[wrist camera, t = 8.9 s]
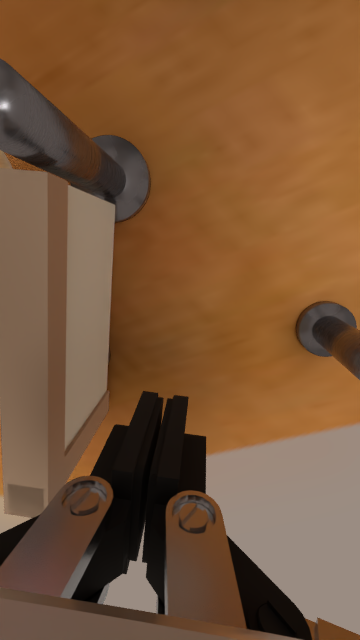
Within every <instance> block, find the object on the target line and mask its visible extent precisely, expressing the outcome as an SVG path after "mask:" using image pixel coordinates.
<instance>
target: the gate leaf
mask: <svg viewBox="0 0 360 640" xmlns="http://www.w3.org/2000/svg"><path fill="white" fill-rule="evenodd" d="M114 222H115V205H114V204H112V203H109V202H107V201H105V200H102V199H100V198H98V197H95V196H93V195H91V194H88V193H86V192H84V191H81V190H79V189H77V188H74V187H72V186H70V185H68V181H66V180H64V179H62V178H59V177H57V176H55V175H53V174H51V173H48V172H41V171H29V170H18V169H7V168H0V417H1V441H2V465H3V489H4V513H5V514H11V515H17V516H24V517H31V518H34V517H36V516H38V515H40V514H41V513H42V512H43V511H44V509H45V508H46V507H47V506H48V504H49V503H50V502H51V500H52V499H53V498H54V497H55V495H56V494H57V493H58V491H59V490H60V489H61V488H62V487H63V486H64V485H65V483H66V482H67V480H68V478H69V476H70V475H71V473H72V471H73V470H74V468H75V466H76V465H77V463H78V461H79V460H80V458H81V456H82V455H83V453H84V451H85V450H86V448H87V446H88V445H89V443H90V441H91V440H92V438H93V436H94V434H95V433H96V431H97V429H98V428H99V426H100V424H101V423H102V421H103V419H104V418H105V416H106V414H107V413H108V411H109V391H107V374H108V352H109V330H110V309H111V287H112V265H113V244H114Z"/></svg>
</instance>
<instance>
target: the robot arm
mask: <svg viewBox="0 0 360 640" xmlns="http://www.w3.org/2000/svg"><path fill="white" fill-rule="evenodd" d="M187 406H188V397H185V396H177V395H174V397H173V399H169V398H168V399H167V403H166V407H165V411H164V416H163V420H162V409H163V398H162V397H158V393H154V392H146V391H143V393H142V395H141V398H140V400H139V403H138V405H137V408H136V410H135V413H134V415H133V418H132V420H131V423H130V425H129V426H125V425H117V424H116V425H114V427H113V429H112V431H111V433H110V435H109V437H108V439H107V441H106V444H105V446H104V448H103V450H102V452H101V454H100V456H99V458H98V460H97V462H96V464H95V466H94V469H93V471H92V473H91V475H90V476H82V477H79V478H76V479H73V480H71V481H70V482H68V483H66V484H65V485H64V486H63V487H62V488H61V489H60V490H59V491H58V493H57V494H56V495H55V497H54V498H53V499H52V500H51V502H50V503H49V504H48V506H47V507H46V508H45V509H44V511H43V512H42V513H41V514H40V515H38V516H36V517H34V518H32V519H30V520H28V521H26V522H24V523H22V524H20V525H17V526H15V527H13V528H12V529H9V530H7V531H5V532H3V533H1V534H0V640H360V635H358V634H356V633H353V632H351V631H348V630H346V629H344V628H341V627H339V626H336V625H334V624H332V623H329V622H327V621H324V620H322V619H320V618H317V621H316V623H315V622H312V621H310V620H308V619H305V618H304V616H303V614H302V613H301V612H300V610H299V609H298V608H297V607H296V605H295V604H294V603H293V602H292V601H291V600H290V599H289V598H288V597H287V596H286V595H285V594H284V593H283V592H282V591H281V590H280V589H279V588H278V587H277V586H276V585H275V584H274V583H273V582H272V581H271V580H270V579H269V578H268V577H267V576H266V575H265V574H264V573H263V572H262V571H261V569H259V568H258V566H257V565H256V564H255V563H254V562H253V561H252V560H251V559H250V558H249V557H248V556H247V555H246V554H245V553H244V552H243V551H242V550H241V549H240V548H239V547H238V546H237V545H236V544H235V543H234V542H233V541H232V540H231V539H230V538H229V537H228V536H227V535H226V531H225V526H224V521H223V517H222V513H221V510H220V508H219V506H218V504H217V503H216V502H215V501H214V500H213V499H212V498H211V497H209V496H208V495H206V491H205V490H206V436H199V435H191V434H184V432H185V424H186V415H187ZM161 420H162V424H161ZM144 525H145V532H144V545H143V557H142V562H144V563H147V573H146V578H147V580H148V581H149V583H150V584H151V586H152V587H153V589H154V590H155V592H156V594H157V602H156V613H150V612H145V611H139V610H133V609H127V608H121V607H115V606H109V605H103V603H104V601H105V598H106V596H107V592H108V589H109V583H110V582H111V581H113V580H114V579H115V578H117V577H118V576H120V575H121V574H127V570H128V566H129V561H130V560H132V561H137V557H138V552H139V548H140V543H141V539H142V533H143V529H144Z"/></svg>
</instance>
